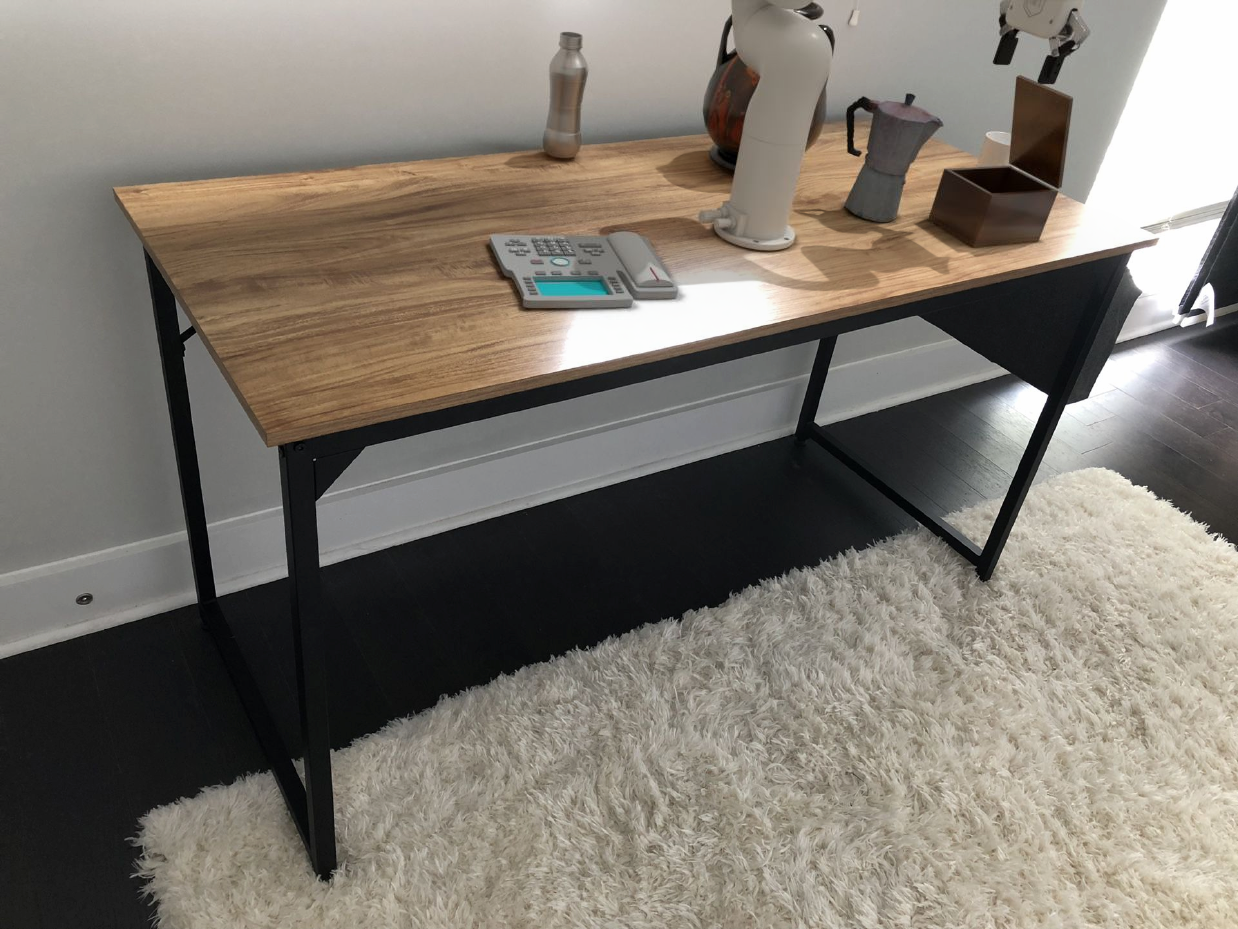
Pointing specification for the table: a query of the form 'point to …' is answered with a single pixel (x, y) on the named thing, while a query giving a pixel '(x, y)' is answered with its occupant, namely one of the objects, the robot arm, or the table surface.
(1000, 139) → the white cup
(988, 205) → the box
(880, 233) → the table surface
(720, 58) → the amphora vase
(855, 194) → the moka pot
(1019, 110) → the lid
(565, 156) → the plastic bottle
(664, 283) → the office telephone
